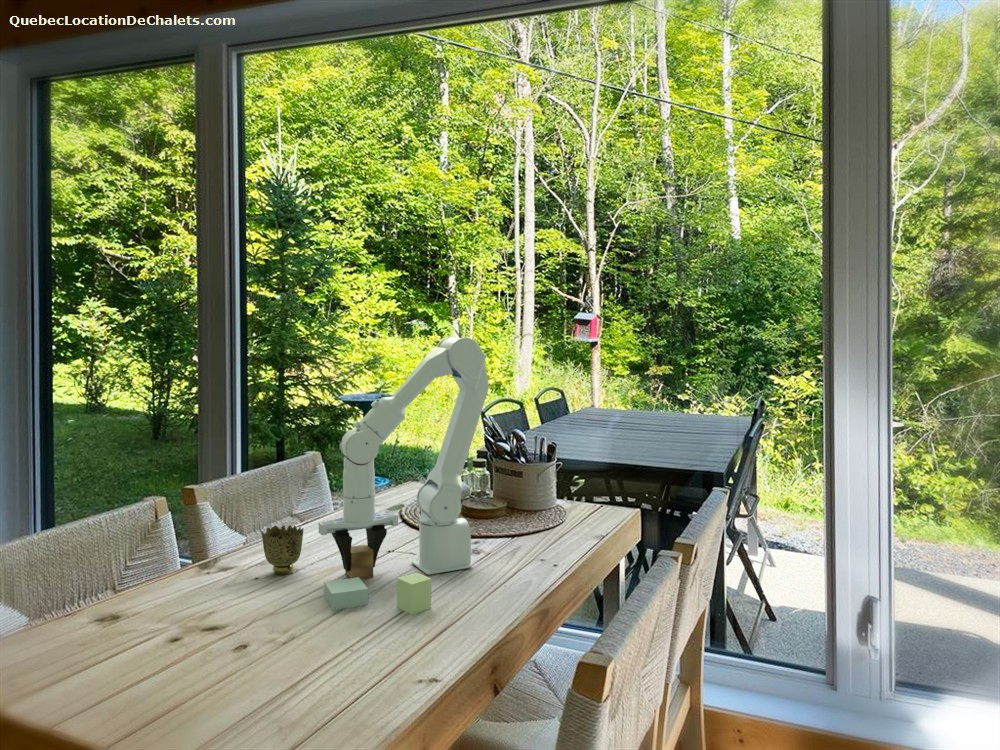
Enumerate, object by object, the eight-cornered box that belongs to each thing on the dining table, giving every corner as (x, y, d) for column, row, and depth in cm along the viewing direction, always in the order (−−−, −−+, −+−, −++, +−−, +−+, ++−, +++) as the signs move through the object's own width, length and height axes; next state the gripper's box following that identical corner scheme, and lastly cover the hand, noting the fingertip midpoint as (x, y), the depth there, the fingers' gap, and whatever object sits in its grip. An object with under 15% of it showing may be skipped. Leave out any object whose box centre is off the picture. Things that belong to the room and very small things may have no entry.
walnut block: (366, 570, 143) (366, 544, 143) (373, 577, 140) (373, 550, 139) (345, 573, 141) (345, 547, 141) (352, 580, 138) (352, 553, 137)
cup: (292, 580, 137) (291, 537, 137) (254, 577, 139) (254, 534, 138) (310, 567, 145) (310, 526, 144) (274, 564, 146) (274, 523, 145)
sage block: (416, 601, 128) (416, 572, 128) (431, 608, 125) (431, 578, 125) (396, 607, 125) (397, 577, 125) (411, 614, 123) (411, 584, 122)
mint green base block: (358, 594, 132) (358, 577, 132) (368, 606, 127) (368, 588, 126) (324, 599, 129) (324, 581, 129) (332, 611, 124) (332, 593, 124)
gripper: (388, 486, 146) (388, 556, 147) (313, 494, 139) (314, 567, 140) (402, 494, 140) (402, 566, 141) (324, 503, 133) (325, 579, 134)
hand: (359, 567), depth 140 cm, fingers closed on walnut block, 4 cm apart
